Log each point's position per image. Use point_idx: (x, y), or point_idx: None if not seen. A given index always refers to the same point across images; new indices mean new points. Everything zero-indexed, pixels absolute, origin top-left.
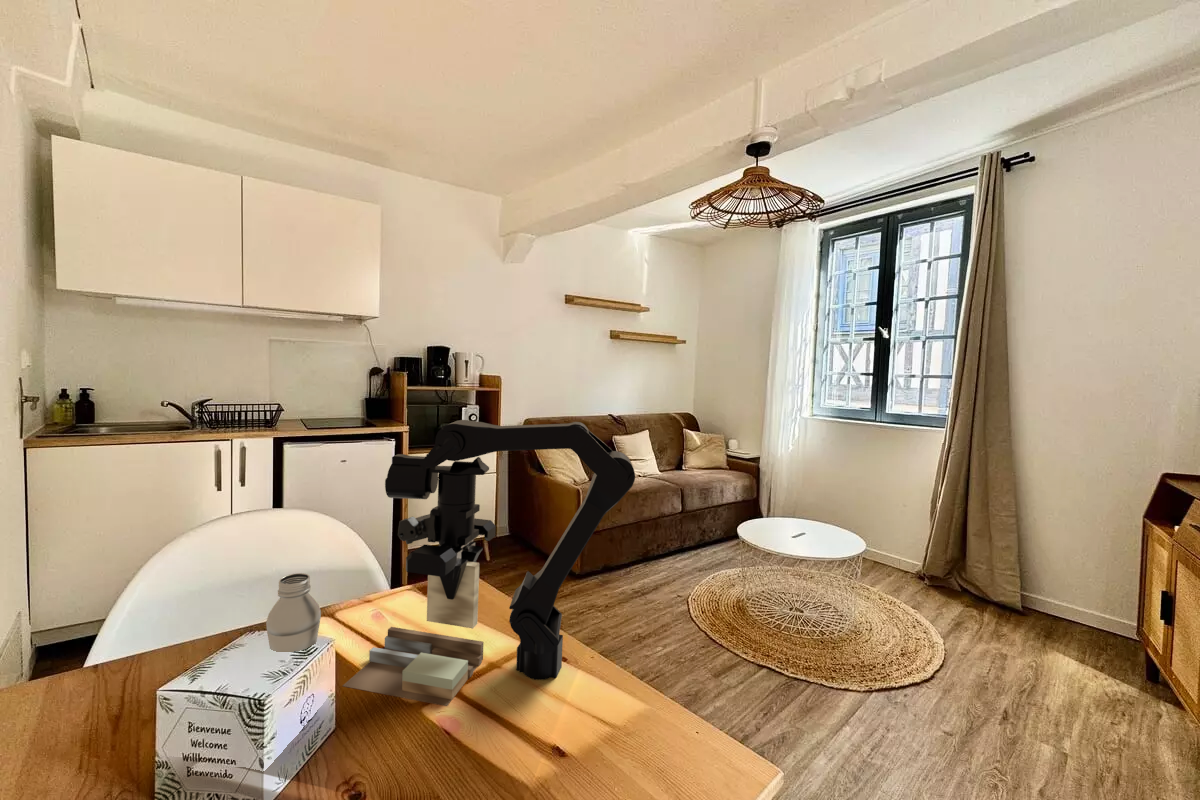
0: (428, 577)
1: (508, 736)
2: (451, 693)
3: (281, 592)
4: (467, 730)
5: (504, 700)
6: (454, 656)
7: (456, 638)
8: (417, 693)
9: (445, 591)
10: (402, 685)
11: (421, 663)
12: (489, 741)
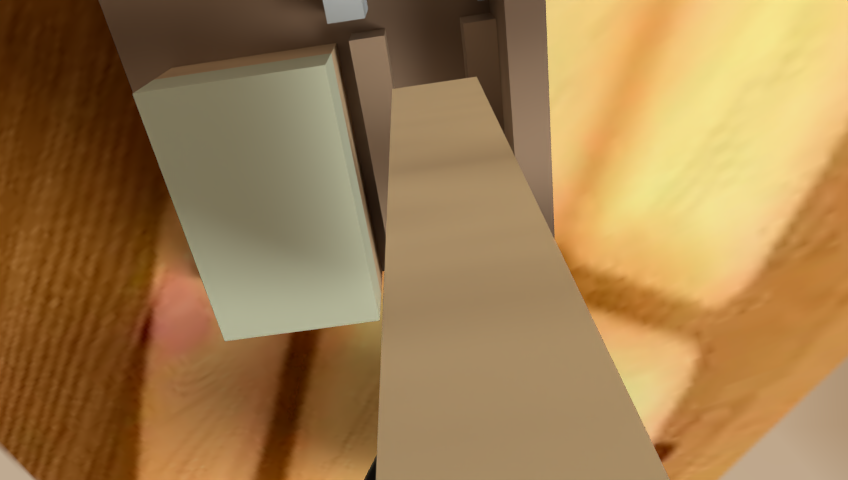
0: (385, 322)
1: (238, 470)
2: None
3: None
4: (190, 375)
5: (369, 397)
6: None
7: (538, 159)
8: None
9: (375, 468)
10: (164, 74)
11: (243, 140)
12: (192, 442)
